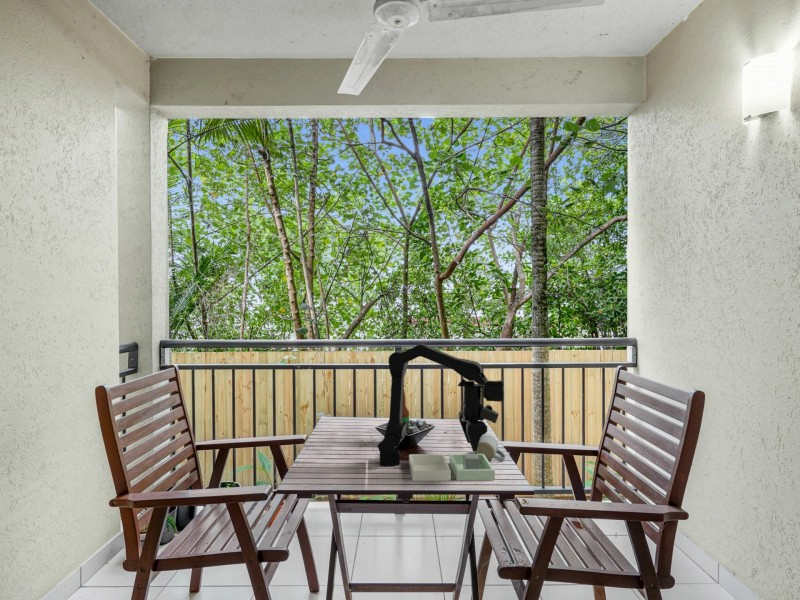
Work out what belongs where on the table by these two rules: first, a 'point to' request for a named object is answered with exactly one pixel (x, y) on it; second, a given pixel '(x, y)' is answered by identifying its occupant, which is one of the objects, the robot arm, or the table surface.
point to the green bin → (479, 474)
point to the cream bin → (429, 467)
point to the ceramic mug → (489, 448)
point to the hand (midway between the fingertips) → (471, 447)
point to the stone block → (470, 461)
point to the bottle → (405, 412)
